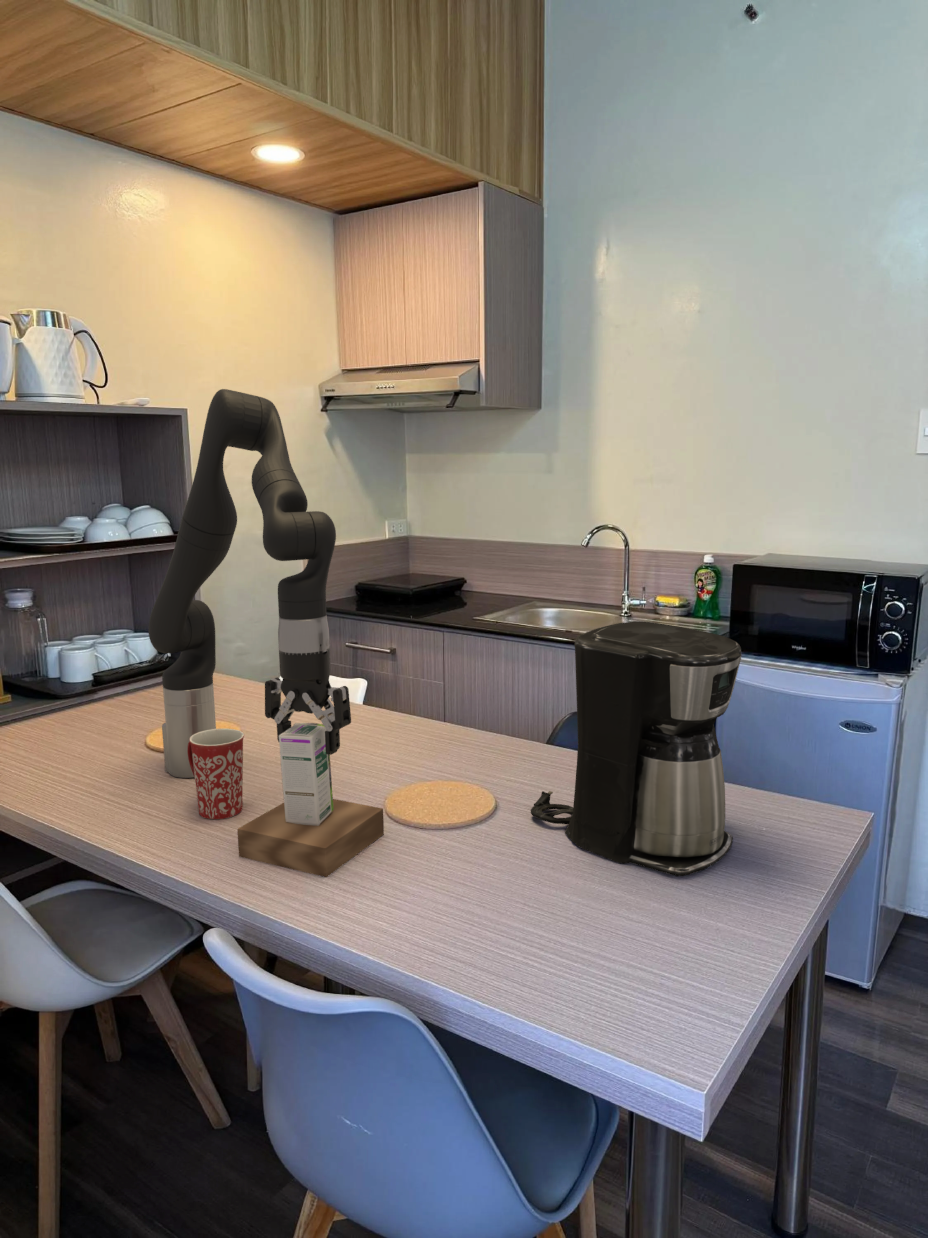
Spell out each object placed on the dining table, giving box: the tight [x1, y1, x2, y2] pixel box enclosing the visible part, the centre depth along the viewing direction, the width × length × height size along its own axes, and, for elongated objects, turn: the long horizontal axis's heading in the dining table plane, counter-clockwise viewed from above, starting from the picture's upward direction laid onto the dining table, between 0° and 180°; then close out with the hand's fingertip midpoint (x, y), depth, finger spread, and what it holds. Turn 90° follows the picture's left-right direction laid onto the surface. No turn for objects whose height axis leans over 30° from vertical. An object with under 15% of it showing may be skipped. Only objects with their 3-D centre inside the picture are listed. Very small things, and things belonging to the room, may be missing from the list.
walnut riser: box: [237, 798, 385, 878], centre depth 135 cm, size 16×16×5 cm
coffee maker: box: [530, 620, 742, 877], centre depth 133 cm, size 23×32×34 cm
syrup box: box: [278, 722, 334, 826], centre depth 133 cm, size 6×6×14 cm
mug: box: [187, 728, 245, 820], centre depth 149 cm, size 13×9×14 cm
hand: (308, 749), depth 132 cm, fingers open, 8 cm apart
